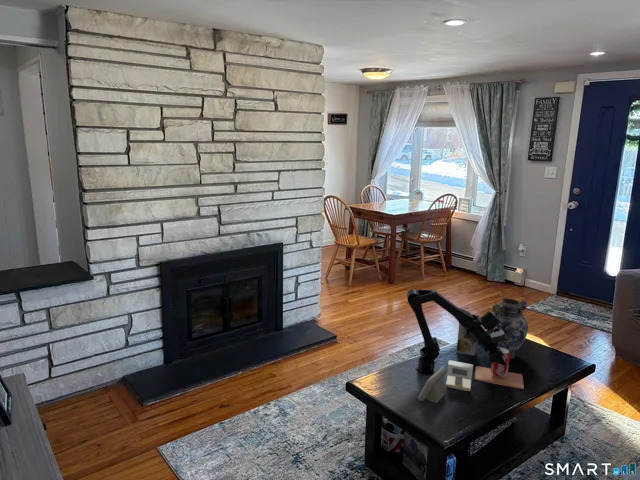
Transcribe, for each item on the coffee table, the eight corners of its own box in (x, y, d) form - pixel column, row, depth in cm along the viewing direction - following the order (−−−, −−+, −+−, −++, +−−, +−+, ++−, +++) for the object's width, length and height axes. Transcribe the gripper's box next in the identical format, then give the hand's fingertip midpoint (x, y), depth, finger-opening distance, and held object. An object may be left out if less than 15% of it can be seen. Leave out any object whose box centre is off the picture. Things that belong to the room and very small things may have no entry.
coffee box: (475, 350, 236) (479, 320, 232) (475, 356, 230) (478, 325, 226) (456, 347, 239) (459, 317, 235) (455, 352, 233) (459, 322, 229)
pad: (474, 379, 208) (475, 378, 208) (475, 367, 219) (475, 365, 219) (523, 389, 202) (523, 387, 201) (522, 376, 213) (522, 374, 212)
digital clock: (434, 384, 203) (437, 362, 201) (452, 393, 196) (455, 370, 194) (411, 397, 193) (413, 374, 190) (429, 407, 186) (431, 383, 184)
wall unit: (470, 391, 198) (472, 370, 196) (445, 386, 202) (447, 365, 199) (470, 382, 206) (473, 361, 203) (447, 377, 209) (449, 357, 207)
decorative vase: (505, 342, 246) (512, 292, 239) (534, 358, 230) (542, 305, 223) (473, 349, 238) (480, 297, 231) (500, 366, 221) (508, 311, 214)
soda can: (510, 377, 208) (514, 352, 205) (498, 379, 205) (501, 354, 203) (499, 369, 214) (502, 345, 212) (486, 371, 212) (490, 347, 209)
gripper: (501, 334, 196) (525, 360, 197) (491, 316, 214) (513, 341, 215) (479, 349, 199) (503, 375, 200) (471, 331, 217) (493, 355, 218)
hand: (503, 361), depth 208 cm, fingers closed on soda can, 7 cm apart
